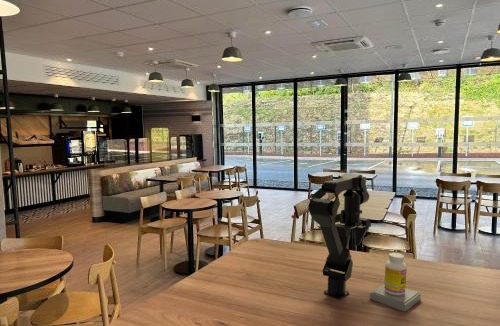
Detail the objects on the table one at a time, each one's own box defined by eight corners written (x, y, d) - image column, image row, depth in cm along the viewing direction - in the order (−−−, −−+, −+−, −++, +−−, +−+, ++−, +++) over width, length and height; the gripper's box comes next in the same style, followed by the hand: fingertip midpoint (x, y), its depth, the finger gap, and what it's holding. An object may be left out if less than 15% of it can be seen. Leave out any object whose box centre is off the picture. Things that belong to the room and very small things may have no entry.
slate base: (404, 311, 114) (405, 304, 114) (369, 298, 123) (370, 291, 122) (420, 299, 122) (420, 292, 122) (386, 288, 131) (386, 281, 131)
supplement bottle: (402, 298, 117) (403, 260, 116) (381, 292, 121) (383, 255, 120) (407, 291, 123) (409, 254, 122) (387, 285, 127) (389, 250, 126)
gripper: (346, 200, 146) (345, 238, 147) (319, 207, 133) (318, 248, 134) (372, 205, 137) (370, 244, 139) (345, 212, 125) (344, 256, 126)
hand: (350, 248), depth 135 cm, fingers open, 9 cm apart
